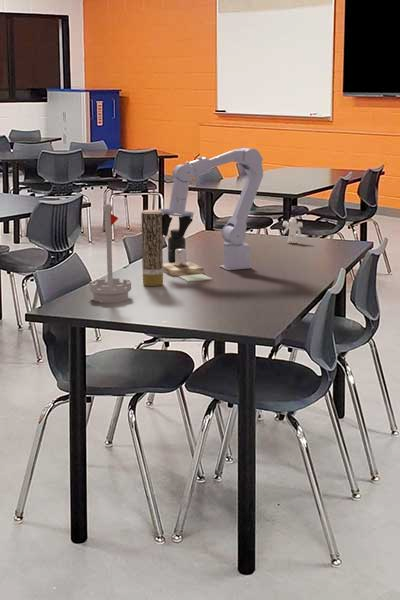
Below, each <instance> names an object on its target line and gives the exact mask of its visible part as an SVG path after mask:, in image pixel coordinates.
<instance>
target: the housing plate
mask: <svg viewBox="0 0 400 600" xmlns="http://www.w3.org/2000/svg"><path fill="white" fill-rule="evenodd" d="M204 270H205V269H204V267H202V266H200V265H199V264H195V263H193V262H192V261H186V267H178V268H177V267H175V262H165V263H163V273H165V274H166V275H169V276H171V277H176V276H178V277H179V276H185V275H196V274H203V275H204Z"/></svg>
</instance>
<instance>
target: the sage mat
mask: <svg viewBox="0 0 400 600" xmlns="http://www.w3.org/2000/svg"><path fill="white" fill-rule="evenodd" d="M178 278H180V279H182V280H183V281H185V282H187V283H191V282H193V283H194V282H201V281H203V282H204V281H213V278H212V277H209V276H208V275H205V274H204V273H203V274H192V275H180V276H178Z"/></svg>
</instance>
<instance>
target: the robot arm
mask: <svg viewBox="0 0 400 600" xmlns="http://www.w3.org/2000/svg"><path fill="white" fill-rule="evenodd" d="M263 159H264V158H263V157H262V155H261V152H259V150H258V149H257V148H249V147H241V148H235V149H232V150H230V151H227V152H224V153H221V154H219V155H216V156H213V157H211V158H207V157H205V156H198V157H197V159H195V160H191V161H188V160H187V161H185V164H178V165H176V166H175V167H174V168H173V170H172V176H173V184H172V187H171V194H170V200H169V201H170V202H169V206H168V207H169V208H159V209H158V210H161V212H162V236H166V237H167V236H168V233H169V231H170V230H169V229H170V225H171V222H172V220H173V217H178V223H179V224H178V229H179V232H178V236H180V237H184V236H185V234H186V231H187V229H188V228H189V226H190V225H191V224H192V222H193V218H194V212H192V211H186V207H187V206H186V205H187V202H188V201H187V200H188V194H189V187H190V181H192V179H195V178H197V177H199V176H203V175H205V174H209V173H210V172H211V170H212V169H213V168H215V167H218V166H222V165H226V164H229V163H231V162H233V163H238V164H239V165H240V166H241V167H242V168H243V169H244V171H245V173H246V175H247V177H246V179H245V182H244V185H243V187H242V190H241V192H240V195H239V198H238V201H237V203H236V205H235V208H234V211H233V214H232V216H231V217H230V218H229V219H228V221H227V223H226V224H225V225H224V226H223V228H222V229H221V237H222V239H223V240H224V242H223V264H221V265H219V267H220V268H222V269H224V270H226V271H234V270H235V271H236V270H244V269H251V268H252V266H251V247H250V245H249V244H248V243H246V242H245V240H246V236H247V235H246V231H247V227H248V226H247V219H248V217H249V214H250V211H251V209H252V206H253V204H254V202H255V198H256V195H257V193H258V190H259V187H260V185H261V182H262V180H263V178H264V170H263ZM171 216H172V217H171Z"/></svg>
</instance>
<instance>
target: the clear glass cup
mask: <svg viewBox="0 0 400 600" xmlns="http://www.w3.org/2000/svg"><path fill="white" fill-rule="evenodd" d="M186 262H187V249H175V262H174V263H175V267H177V268H178V267H186Z"/></svg>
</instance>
